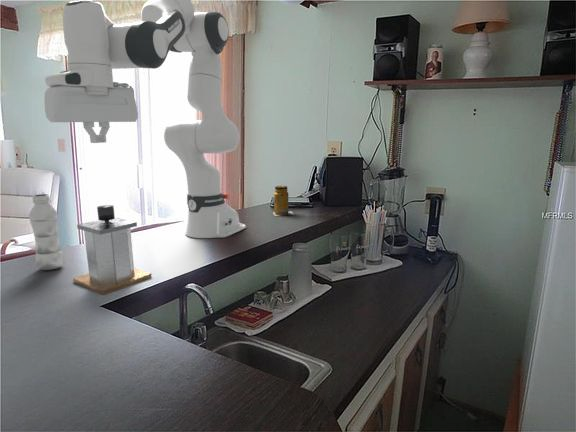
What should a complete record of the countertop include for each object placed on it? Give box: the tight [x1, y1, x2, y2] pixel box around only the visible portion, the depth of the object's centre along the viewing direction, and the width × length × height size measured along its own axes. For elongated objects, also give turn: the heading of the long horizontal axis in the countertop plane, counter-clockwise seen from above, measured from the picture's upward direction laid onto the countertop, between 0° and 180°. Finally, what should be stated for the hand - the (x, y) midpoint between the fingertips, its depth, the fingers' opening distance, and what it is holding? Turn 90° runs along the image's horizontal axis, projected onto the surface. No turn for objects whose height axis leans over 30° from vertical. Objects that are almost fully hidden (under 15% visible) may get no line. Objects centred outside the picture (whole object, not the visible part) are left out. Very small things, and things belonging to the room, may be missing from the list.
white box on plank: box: [72, 217, 152, 296], centre depth 99 cm, size 13×13×14 cm
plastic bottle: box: [28, 193, 65, 271], centre depth 106 cm, size 6×7×20 cm
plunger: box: [96, 204, 115, 225], centre depth 99 cm, size 7×7×17 cm
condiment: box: [272, 185, 295, 217], centre depth 172 cm, size 7×8×12 cm
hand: (98, 142), depth 93 cm, fingers closed
